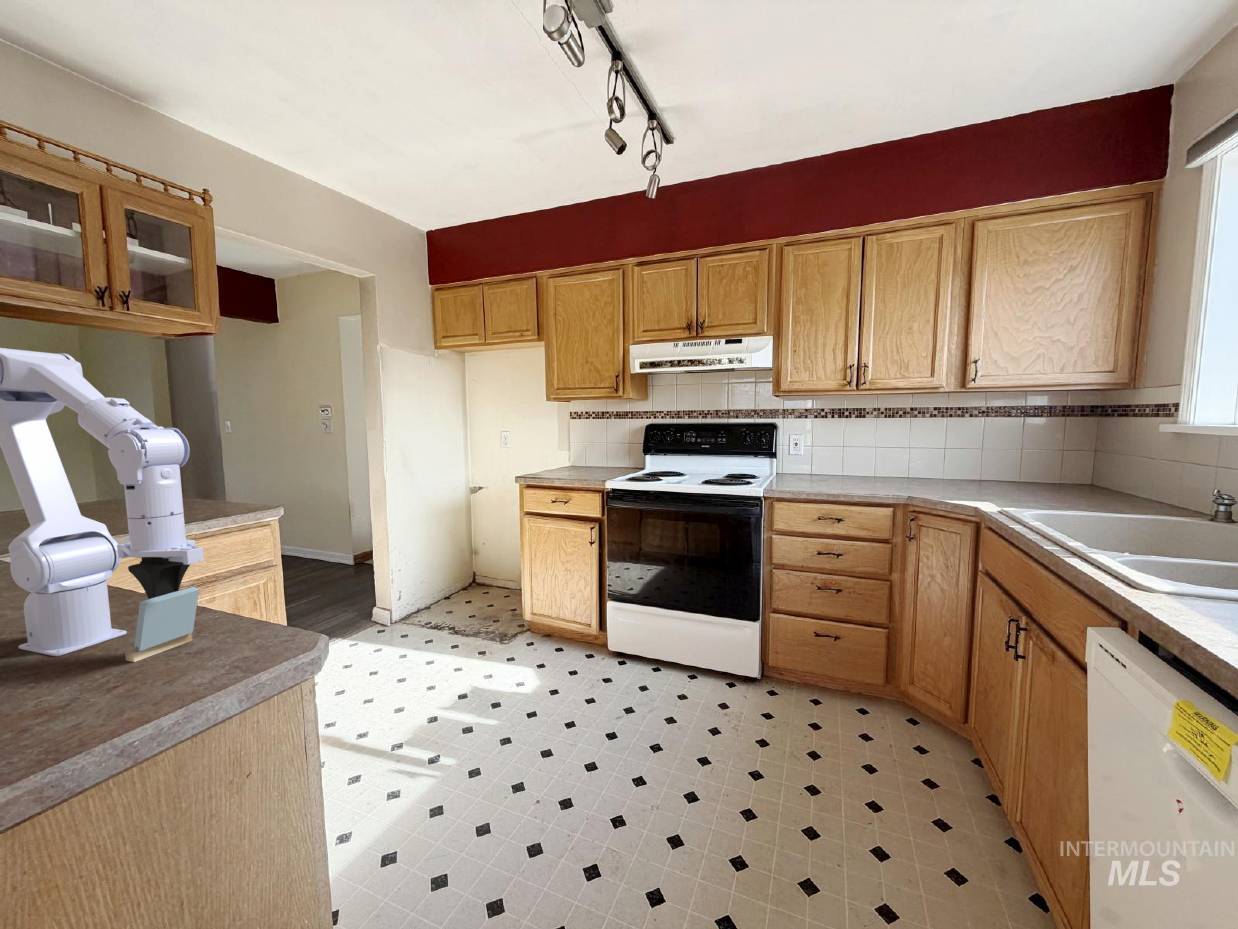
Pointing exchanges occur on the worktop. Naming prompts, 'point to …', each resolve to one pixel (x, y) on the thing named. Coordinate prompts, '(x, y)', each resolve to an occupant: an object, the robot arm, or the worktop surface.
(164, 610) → the panel
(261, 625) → the worktop surface
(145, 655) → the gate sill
